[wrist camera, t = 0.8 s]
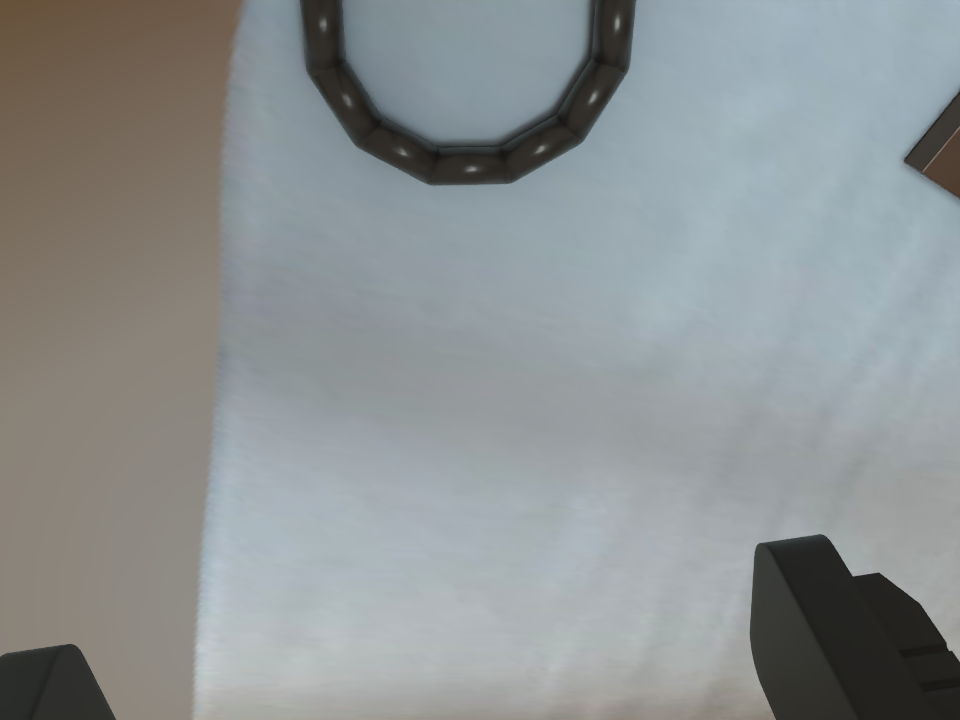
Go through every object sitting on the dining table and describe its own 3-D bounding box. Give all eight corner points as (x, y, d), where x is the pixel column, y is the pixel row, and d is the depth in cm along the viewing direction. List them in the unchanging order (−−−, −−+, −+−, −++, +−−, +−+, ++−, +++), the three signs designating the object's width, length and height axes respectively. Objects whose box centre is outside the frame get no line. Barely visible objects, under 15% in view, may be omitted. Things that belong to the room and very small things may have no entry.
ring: (249, 83, 28) (244, 93, 27) (401, -248, 24) (402, -252, 23) (520, 227, 31) (525, 240, 30) (693, -44, 27) (705, -39, 26)
